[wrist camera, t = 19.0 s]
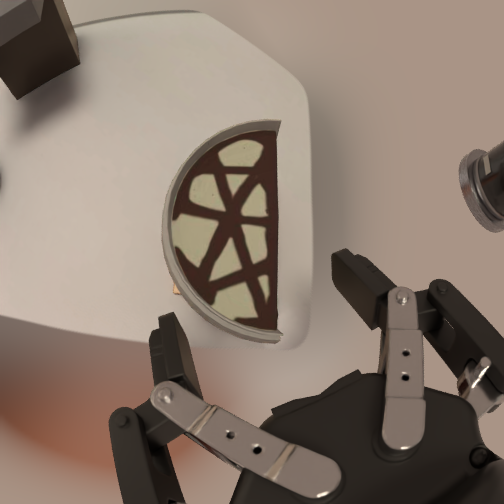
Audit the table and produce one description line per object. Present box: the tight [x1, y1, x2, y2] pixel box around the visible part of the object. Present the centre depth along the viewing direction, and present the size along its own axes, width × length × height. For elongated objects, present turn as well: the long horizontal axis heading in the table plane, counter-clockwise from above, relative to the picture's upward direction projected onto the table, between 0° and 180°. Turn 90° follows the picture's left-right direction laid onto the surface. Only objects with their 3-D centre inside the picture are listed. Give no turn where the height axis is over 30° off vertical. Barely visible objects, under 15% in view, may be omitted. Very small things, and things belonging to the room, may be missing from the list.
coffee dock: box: [0, 0, 80, 100], centre depth 19 cm, size 10×16×16 cm, turn 26°
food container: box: [162, 119, 283, 344], centre depth 19 cm, size 12×6×10 cm, turn 179°
